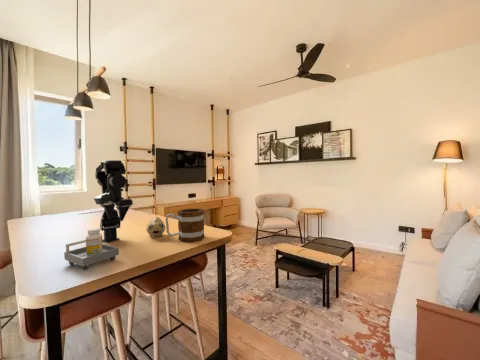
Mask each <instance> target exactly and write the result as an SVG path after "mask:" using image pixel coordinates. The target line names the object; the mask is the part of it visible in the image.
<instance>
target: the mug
mask: <svg viewBox="0 0 480 360" xmlns="http://www.w3.org/2000/svg"><path fill="white" fill-rule="evenodd" d="M204 212H205V210H204V209H203V208H183V209H180V210H179V209H178V210H177V215H176V214H174V213H168V214H166V216H165V231H166V234H167V235H168V237H169V236H170V237H175V236H178V242H179V241H180V242H181V243H197V242H202V241H203V240H204V239H205V238H206V237H205V219H204ZM170 216H172V217H173V218H174V219H176V220H178V221H177V222H178V223H177V226H178V227H177V228H178V229H177V230H178V231H177V232H175V233H170V231H169V230H170V228H169V227H170V226H169V225H170V224H169V217H170Z"/></svg>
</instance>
